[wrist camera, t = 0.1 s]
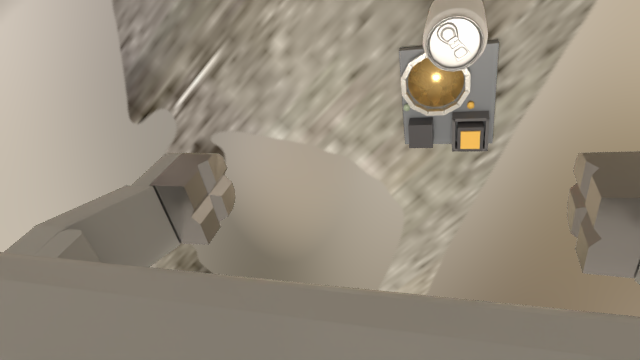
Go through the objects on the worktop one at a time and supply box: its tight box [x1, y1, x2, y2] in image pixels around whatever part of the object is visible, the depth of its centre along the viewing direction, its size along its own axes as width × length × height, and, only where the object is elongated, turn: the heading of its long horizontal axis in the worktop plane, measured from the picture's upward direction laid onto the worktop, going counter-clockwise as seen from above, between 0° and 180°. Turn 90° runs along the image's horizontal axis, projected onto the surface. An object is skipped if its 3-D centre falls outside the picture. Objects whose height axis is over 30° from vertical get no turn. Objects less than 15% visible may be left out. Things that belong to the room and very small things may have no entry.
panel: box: [399, 40, 499, 151], centre depth 56 cm, size 14×12×4 cm
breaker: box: [457, 121, 484, 151], centre depth 56 cm, size 4×3×2 cm
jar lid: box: [401, 51, 471, 116], centre depth 55 cm, size 9×9×1 cm
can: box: [423, 0, 488, 72], centre depth 47 cm, size 6×6×12 cm
